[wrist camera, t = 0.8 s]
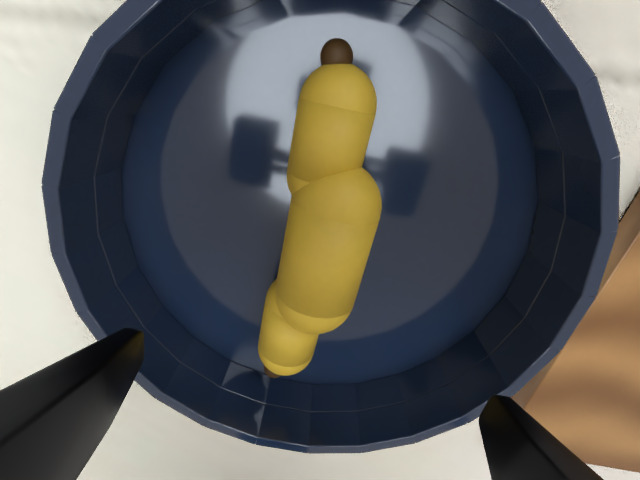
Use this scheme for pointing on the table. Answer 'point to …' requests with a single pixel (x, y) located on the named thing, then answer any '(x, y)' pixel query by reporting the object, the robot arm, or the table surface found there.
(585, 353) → the cutting board
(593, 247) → the shallow blue dish
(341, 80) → the banana
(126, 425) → the table surface
